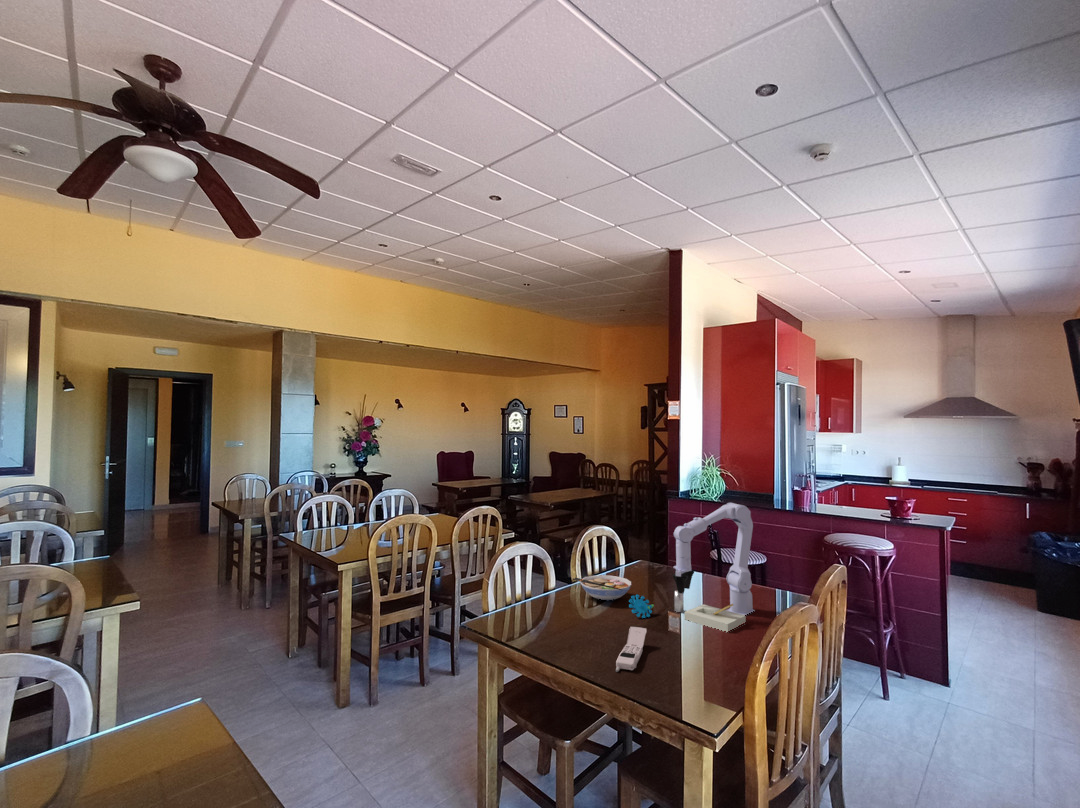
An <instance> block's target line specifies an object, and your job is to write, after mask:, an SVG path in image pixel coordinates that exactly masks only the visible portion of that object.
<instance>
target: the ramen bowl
mask: <svg viewBox="0 0 1080 808" xmlns="http://www.w3.org/2000/svg"><path fill="white" fill-rule="evenodd" d="M572 581H577V582H579V583H580V585H581V587H582V588H583V590H584V592H585V593H587V594H588V595H589V596H591V597H592V598H595V599H597V600H599V599H601V600H612V601H614V600H617V599H619V598H622V597H623V596H625V595H626V594H627V593H628V591H629V590H630V589H631V586H632V581H631V580H629V579H628V578H626V577H625V578H624V577H622V576H615V575H605V574H602V575H601V574H600V575H599V574H598V575H590V576H584V577H583V578H581V577H580V578H579V577H574V578H572ZM613 599H614V600H613ZM601 600H600V601H601Z"/></svg>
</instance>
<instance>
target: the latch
mask: <svg viewBox="0 0 1080 808" xmlns="http://www.w3.org/2000/svg"><path fill="white" fill-rule="evenodd" d="M731 606H733V604H731V605H730V604H729V605H726V606H725V607H723V608H720V609H721V610H719V611H717V612H715V613H713V614H714V615H715V614H717V613H719V612H721V611H723V610H728V609H730V607H731Z"/></svg>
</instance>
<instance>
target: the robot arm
mask: <svg viewBox="0 0 1080 808" xmlns="http://www.w3.org/2000/svg"><path fill="white" fill-rule="evenodd" d="M751 513H752V512H751V510H750V509H749V508H748V507H747V506H746V505H743V504H739V503H738V504H737V503H734V502H727V503H726V504H723V505H722V506H720V507H718V509H716V510H714V511H713V512H711V513H709V514H708V515H706V516H704V517H703V518H702V517H700V516H699V517H693V518H692V519H693V520H691V521H688V522H687V523H686V522H685V523H684V524H683V525H678V526H677V527H675V529H674V532H673V534H672V535H673V537H674V539H675V559H676V560H675V563H676V564H675V565H674V566H673V569H675V573H673V574H672V578H673V580H674V582H675V585H676V590H678V593H682V594H683V595H684V594H685V590H686V589H687V590H690V589H691V587H690V586H691V584H692V578H693V576H694V574H695V570H692V564H691V563H692V560H691V559H692V555H691V554H692V553H691V551H692V550H691V547H692V546H691V542H692V540H693V539H694V537H696V536H698V535H700V534H701V533H704V532H705V531H707V529H708V526H710V525H711V524H714V523H716V522H719V521H721V520H722V519H731V520H732V521H733V522H734V523H735V524H736V526H737V527H738V529H737V530H738V531H737V536H736V545H735V552H734V558H733V564H732V565H731V566H730V567H729V570H728V573H727V575H726V579H725V580H726V582H727V584H728V585H729V605H731V604H733V606H731V607H729V608H727V609H725V610H726V611H730V612H734V613H738V614H741V615H746V616H748V615H750V614H752V613H754V612H755V611H756V610H755V609H753V603H754V602H753V594H752V592H751V588H752V586H753V583H752V579H751V575H752V574H751V572H750V569H749V568H748V567H749V560H750V552H751V543H752V537H753V531H754V530H753V529H754V523H753V519H752V515H751ZM753 611H754V612H753ZM751 612H752V613H751ZM749 613H750V614H749ZM747 614H748V615H747Z"/></svg>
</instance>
